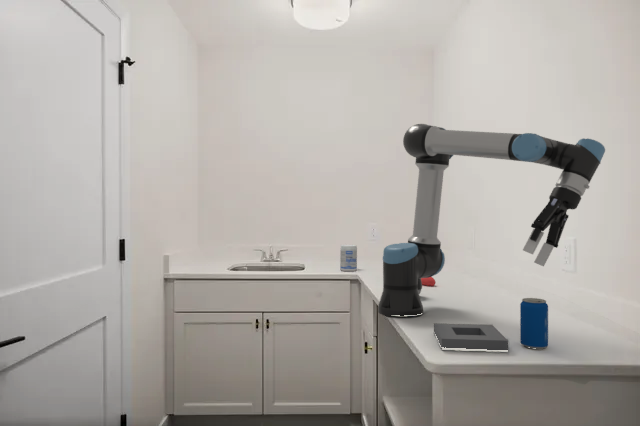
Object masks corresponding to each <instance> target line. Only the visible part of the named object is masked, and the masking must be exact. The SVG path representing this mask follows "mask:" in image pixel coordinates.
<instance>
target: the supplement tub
mask: <svg viewBox="0 0 640 426" xmlns="http://www.w3.org/2000/svg"><path fill="white" fill-rule="evenodd" d="M339 256H340V259H339V262H340V271H341V272H356V271H357V270H358V246H357V245H356V244H355V245H354V244H340V255H339Z"/></svg>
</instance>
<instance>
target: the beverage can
mask: <svg viewBox="0 0 640 426" xmlns="http://www.w3.org/2000/svg"><path fill="white" fill-rule="evenodd" d="M519 307H520V310H519V311H520V312H519V313H520V317H519V318H520V321H519V322H520V326H519V327H520V329H519V330H520V334H519V335H520V336H519V337H520V338H519V339H520V341H519V342H520V344H521V345H524V346H526V347H530V348H536V349H541V350H544V349H543V348H547V347H548V346H549V305H548V303H547V300H545V299H543V298H537V297H534V298H533V297H523V298H522V299H521V303H520V304H519ZM524 346H523V347H524ZM526 347H525V348H526ZM536 349H535V350H536Z"/></svg>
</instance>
